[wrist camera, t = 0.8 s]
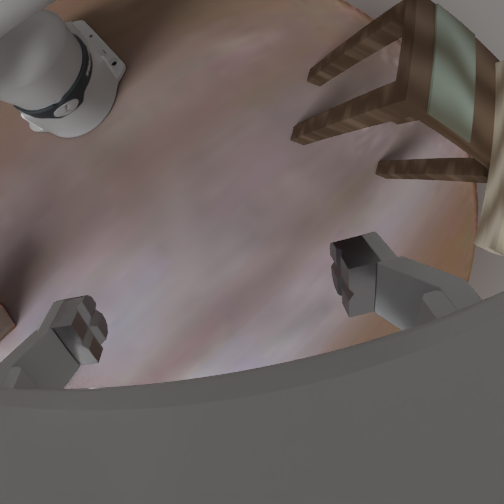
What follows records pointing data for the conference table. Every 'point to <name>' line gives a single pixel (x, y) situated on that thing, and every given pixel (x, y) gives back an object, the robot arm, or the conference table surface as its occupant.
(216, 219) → the conference table surface
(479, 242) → the bar
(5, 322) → the cracker box
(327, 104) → the conference table surface
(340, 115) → the stand
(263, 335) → the conference table surface
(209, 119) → the conference table surface
